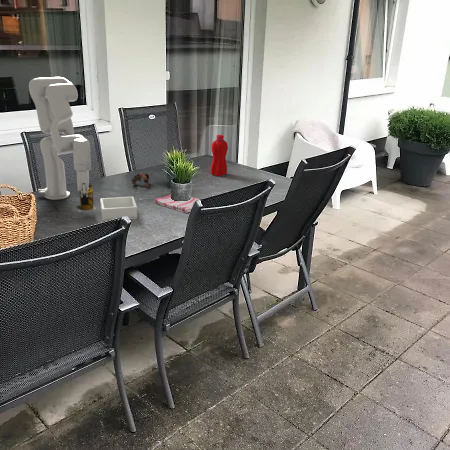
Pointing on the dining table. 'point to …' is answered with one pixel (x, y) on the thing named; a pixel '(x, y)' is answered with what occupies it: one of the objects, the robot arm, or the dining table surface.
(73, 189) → the dining table surface
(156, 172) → the dining table surface
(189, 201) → the dish towel
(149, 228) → the dining table surface
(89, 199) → the condiment
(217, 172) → the water bottle
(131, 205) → the bin
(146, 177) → the brown jointed arch figure
